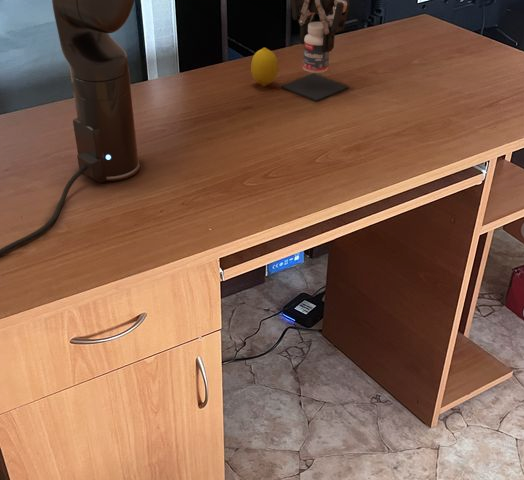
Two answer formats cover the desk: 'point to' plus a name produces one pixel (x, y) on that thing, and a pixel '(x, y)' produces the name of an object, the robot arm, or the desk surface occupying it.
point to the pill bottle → (315, 49)
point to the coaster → (314, 87)
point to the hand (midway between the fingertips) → (316, 47)
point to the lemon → (264, 66)
